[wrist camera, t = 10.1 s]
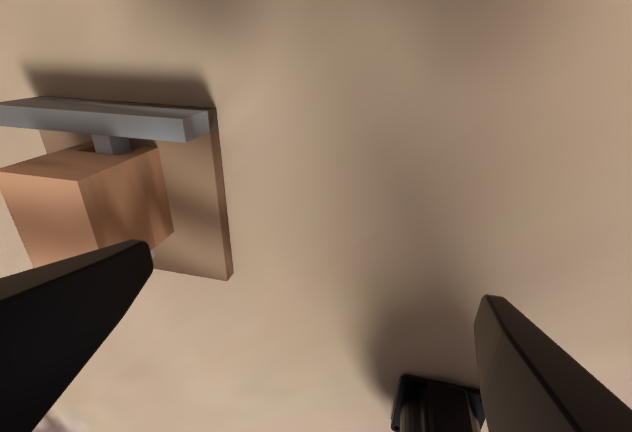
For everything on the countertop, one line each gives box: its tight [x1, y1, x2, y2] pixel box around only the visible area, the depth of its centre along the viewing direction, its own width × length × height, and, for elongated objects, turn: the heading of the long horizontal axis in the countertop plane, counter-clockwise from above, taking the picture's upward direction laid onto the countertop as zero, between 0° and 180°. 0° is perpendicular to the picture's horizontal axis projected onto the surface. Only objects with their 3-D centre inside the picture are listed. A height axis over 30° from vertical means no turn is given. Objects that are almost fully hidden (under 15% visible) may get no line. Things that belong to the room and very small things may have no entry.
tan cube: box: [0, 141, 174, 268], centre depth 20 cm, size 6×5×6 cm
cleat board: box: [0, 96, 233, 281], centre depth 23 cm, size 12×12×4 cm
